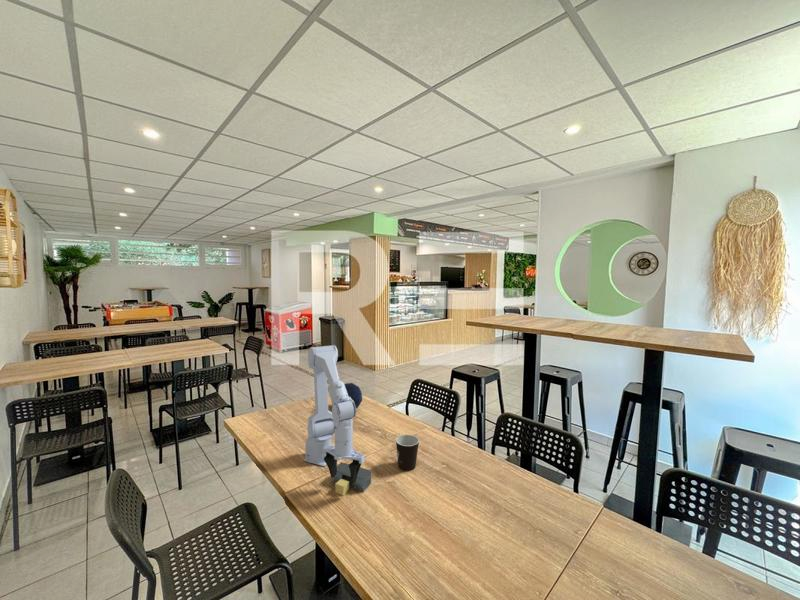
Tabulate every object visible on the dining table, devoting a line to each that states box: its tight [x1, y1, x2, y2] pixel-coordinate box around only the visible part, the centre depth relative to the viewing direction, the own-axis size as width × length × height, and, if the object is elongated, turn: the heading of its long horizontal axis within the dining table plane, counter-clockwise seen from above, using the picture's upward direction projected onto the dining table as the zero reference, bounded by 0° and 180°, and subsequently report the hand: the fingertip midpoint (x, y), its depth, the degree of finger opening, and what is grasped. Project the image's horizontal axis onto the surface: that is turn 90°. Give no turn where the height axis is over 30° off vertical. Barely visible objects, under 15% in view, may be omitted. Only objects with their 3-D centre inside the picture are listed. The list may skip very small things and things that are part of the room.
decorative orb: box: [344, 382, 363, 409], centre depth 170 cm, size 14×15×15 cm
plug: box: [334, 476, 354, 496], centre depth 109 cm, size 12×3×3 cm, turn 153°
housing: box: [332, 461, 372, 493], centre depth 110 cm, size 12×5×4 cm, turn 67°
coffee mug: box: [395, 434, 420, 472], centre depth 121 cm, size 12×9×10 cm
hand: (343, 479), depth 105 cm, fingers open, 7 cm apart
